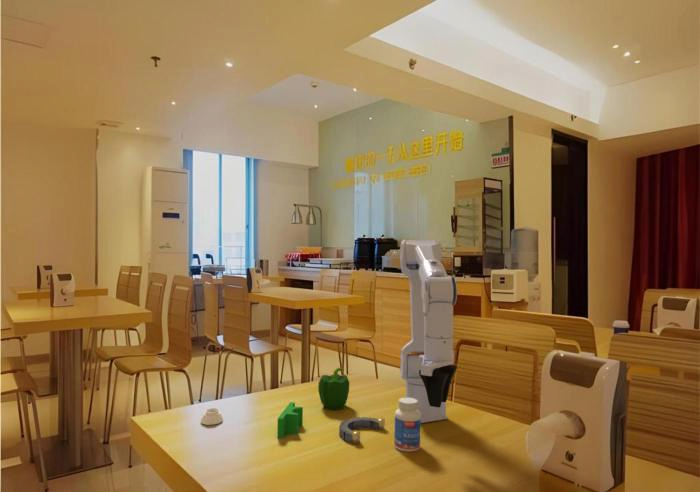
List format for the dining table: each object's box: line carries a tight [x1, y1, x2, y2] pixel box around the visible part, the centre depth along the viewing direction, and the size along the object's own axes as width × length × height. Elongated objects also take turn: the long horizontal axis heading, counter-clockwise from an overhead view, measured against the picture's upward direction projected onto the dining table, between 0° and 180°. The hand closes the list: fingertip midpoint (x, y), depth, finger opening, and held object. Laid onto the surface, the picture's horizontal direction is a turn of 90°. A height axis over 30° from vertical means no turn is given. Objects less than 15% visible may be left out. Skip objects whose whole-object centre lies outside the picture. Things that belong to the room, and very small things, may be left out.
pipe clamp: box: [276, 401, 304, 440], centre depth 106 cm, size 11×4×5 cm, turn 173°
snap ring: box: [338, 416, 386, 445], centre depth 105 cm, size 8×12×2 cm, turn 143°
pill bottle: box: [393, 397, 422, 453], centre depth 97 cm, size 6×5×10 cm
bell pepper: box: [317, 366, 350, 410], centre depth 122 cm, size 8×8×10 cm
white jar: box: [200, 407, 224, 426], centre depth 110 cm, size 5×3×5 cm
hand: (438, 403), depth 93 cm, fingers open, 3 cm apart
